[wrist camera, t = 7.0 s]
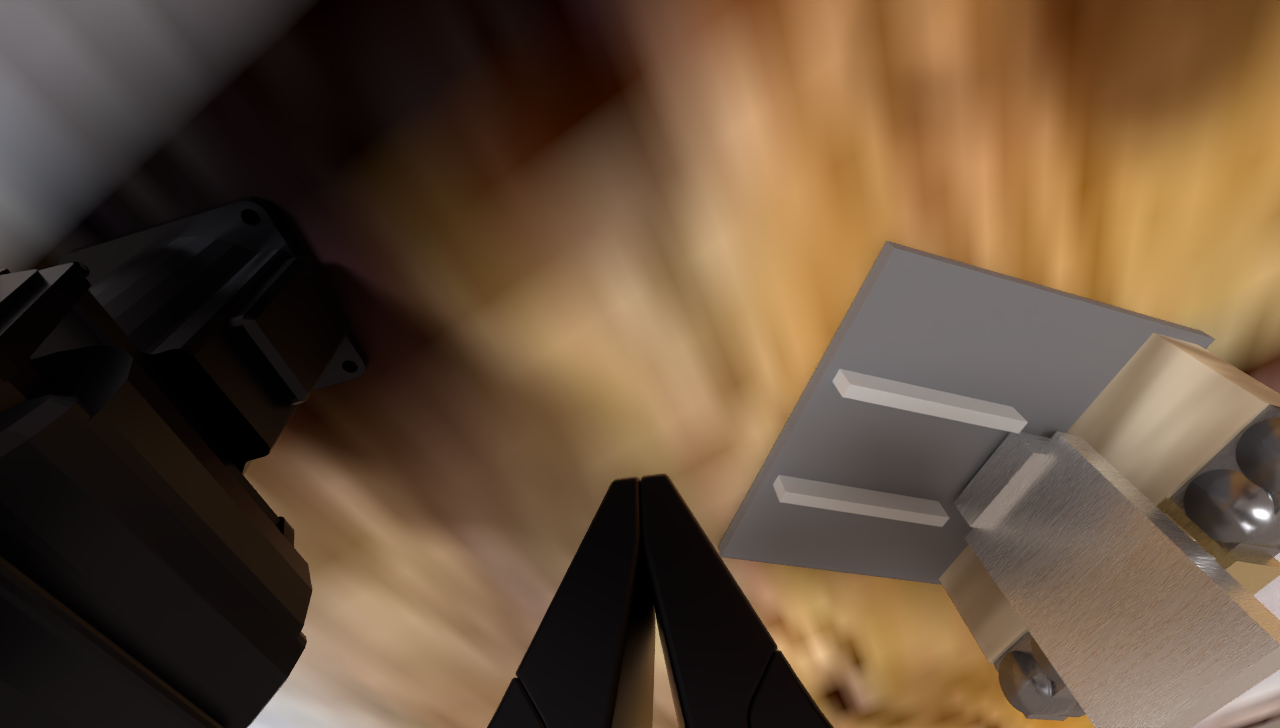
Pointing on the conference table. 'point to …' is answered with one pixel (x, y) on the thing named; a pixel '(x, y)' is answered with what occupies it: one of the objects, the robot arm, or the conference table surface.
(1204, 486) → the chain ends
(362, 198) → the conference table surface
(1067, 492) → the brushed metal plate
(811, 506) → the jig base
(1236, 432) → the jig block
